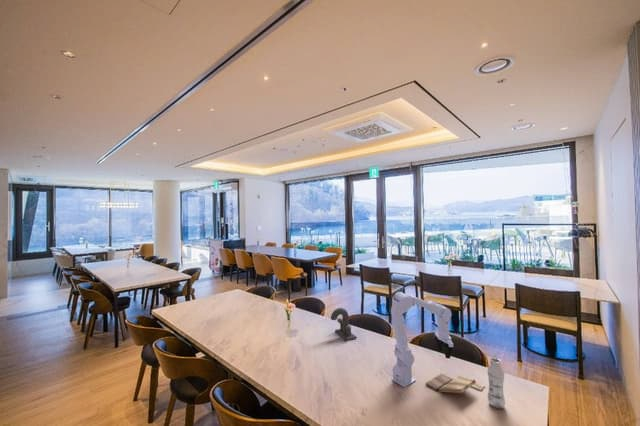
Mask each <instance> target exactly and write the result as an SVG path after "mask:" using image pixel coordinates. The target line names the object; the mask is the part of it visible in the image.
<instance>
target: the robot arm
mask: <svg viewBox="0 0 640 426" xmlns="http://www.w3.org/2000/svg"><path fill="white" fill-rule="evenodd" d="M391 300H392V304H391V308H390V314H391V318H392V326H393V331H394V334H395V335H394V336H395V341H396V343H395V344H394V351H393V352H394V356H395V357H396V363H395V365H393V367H392V378H391V381H393V382H395V383H396V384H398V385H400V386H401V387H403V388H406V387H407V386H410V385H411V384H412V383H414V382H416V379H415V378H413V376H412V375H413V372H412V368H413V367H412V366H413V364H414V362H415V356H414V354H413V353H412V349H411V348H410V346H409V344H408V339H407V332H406V327H405V322H404V316H403V314H405V313H407V312H408V311H409V310H411V308H413V307H415V306H416V305H417V306H419V307H422V308H425V310H426V312H428V313H431V314H434V315H436V316H437V331H434V336H433V340H434V342H435V345H436V348H437V351H438V352H442V351H443V350H444V356H445V358H446V359H451V356H452V353H453V351H454V349H455V345H454V343H453V341H452V337H451V336H450V321H451V317H452V316H453V315H452V312H451V309H450V308H448V307H446V306H444V305H443V304H441V303H440V304H439V303H437V302H436V301H435V300H428V301H426V300H424V299H421V298H419V297H416V296H415V295H412V294H408V293H406V292H404V293H403V292H401V291H397V292H395V294H393V296H392V299H391ZM444 343H445V344H444Z"/></svg>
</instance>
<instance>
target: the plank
mask: <svg viewBox="0 0 640 426" xmlns="http://www.w3.org/2000/svg"><path fill="white" fill-rule="evenodd" d="M454 380H471V379H470V378H467V377H464V376H461V375H458V376H457V377H456V378H455V379H454ZM485 387H486V386H485V385H484V384H482V383H480V382H477V381H476V383H475V384H473V385H472V386H470V387H469V388H473V389H475V390H477V391H480V392H482V391H483V390H484V389H485Z"/></svg>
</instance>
